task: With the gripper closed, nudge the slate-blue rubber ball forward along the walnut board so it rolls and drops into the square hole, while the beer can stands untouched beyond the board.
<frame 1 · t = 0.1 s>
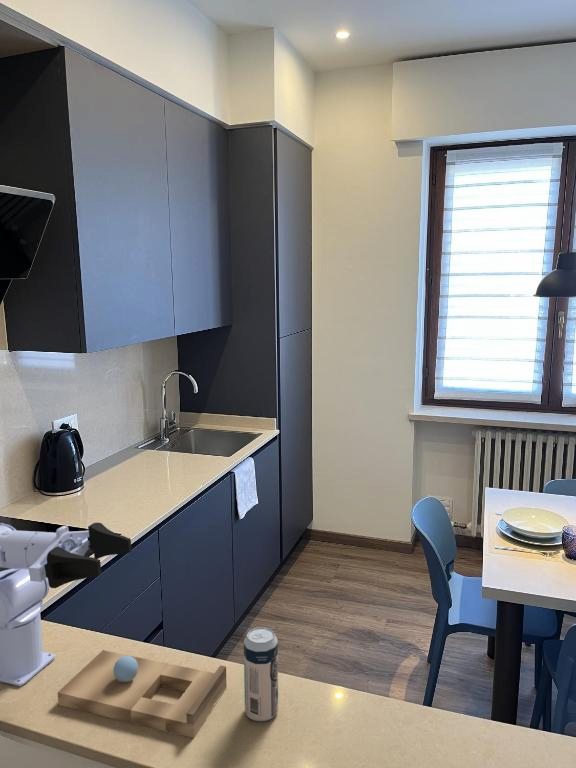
hand: (115, 556, 86), 22 cm above the counter, tool horizontal, fingers open, 7 cm apart
beer can: (261, 713, 84), on the counter
board: (144, 696, 88), on the counter
ball: (125, 668, 88), point 4 cm above the counter, touching board
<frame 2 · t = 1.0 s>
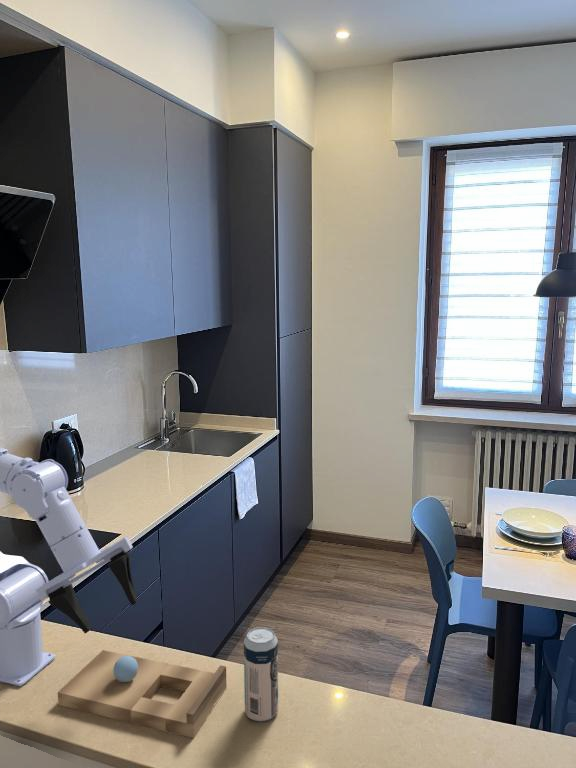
hand: (111, 616, 88), 12 cm above the counter, tool tilted 30°, fingers open, 7 cm apart
nothing on the counter moved.
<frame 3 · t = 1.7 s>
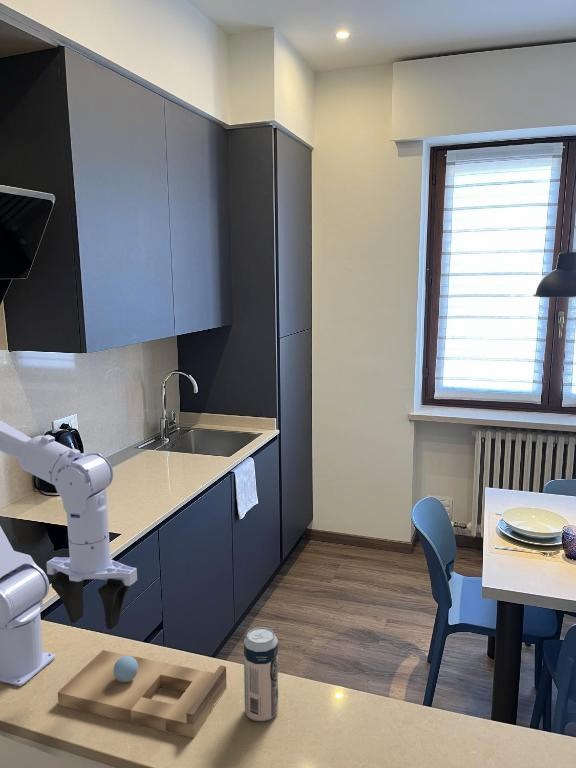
hand: (94, 622, 89), 10 cm above the counter, tool pointing down, fingers open, 6 cm apart
nothing on the counter moved.
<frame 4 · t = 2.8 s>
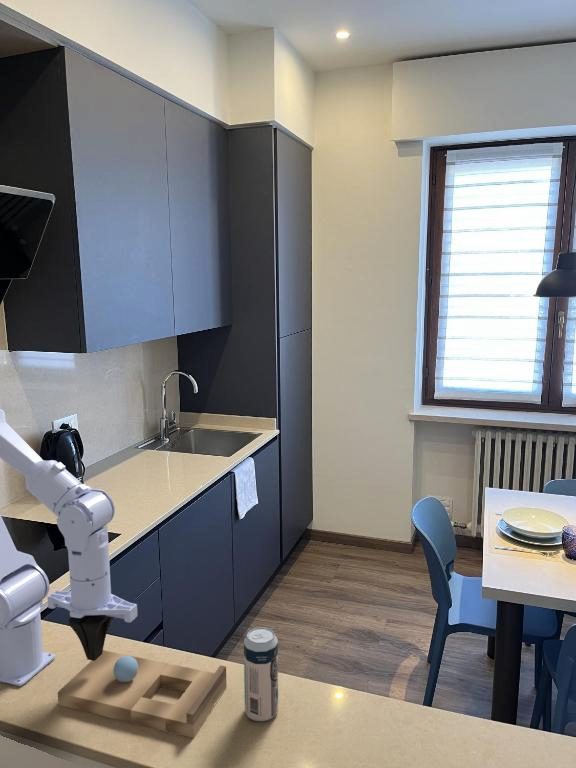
hand: (94, 656, 90), 5 cm above the counter, tool pointing down, fingers closed
nothing on the counter moved.
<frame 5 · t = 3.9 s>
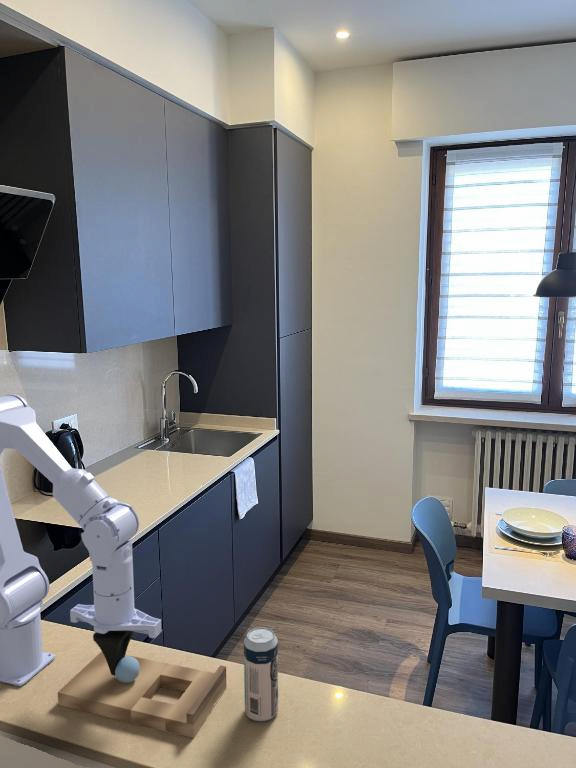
hand: (117, 671, 89), 3 cm above the counter, tool pointing down, fingers closed, pressing on ball
ball: (127, 669, 88), point 4 cm above the counter, tilted 9°, touching board, gripper
everything else where it was.
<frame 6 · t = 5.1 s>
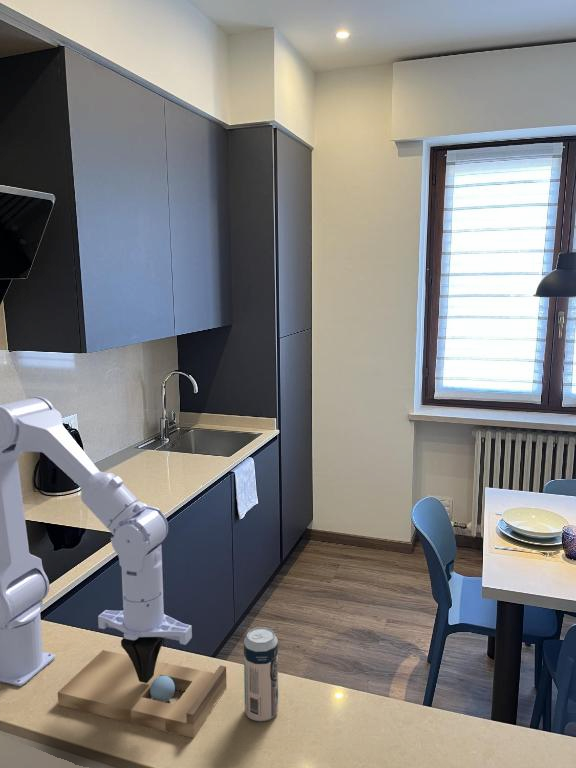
hand: (146, 678, 87), 3 cm above the counter, tool pointing down, fingers closed
ball: (162, 689, 86), point 2 cm above the counter, tilted 158°
everything else where it was.
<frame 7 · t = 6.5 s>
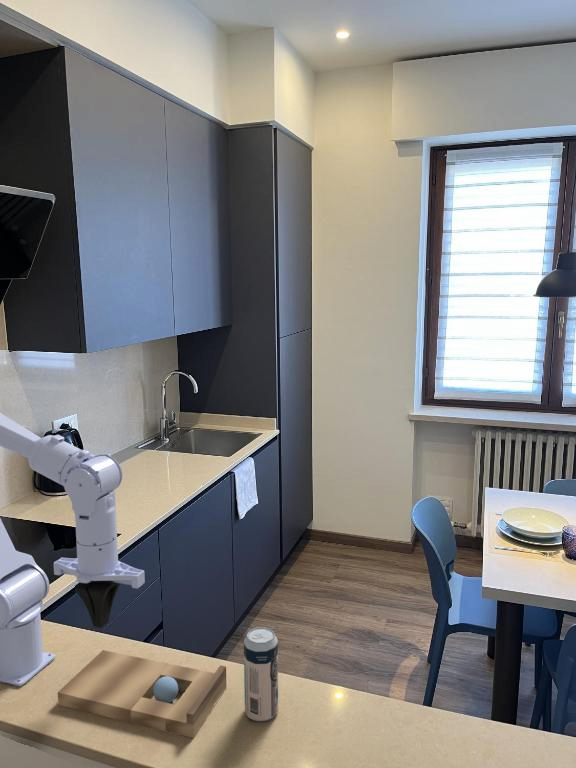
hand: (101, 624, 88), 10 cm above the counter, tool pointing down, fingers closed
ball: (165, 689, 86), point 2 cm above the counter, tilted 141°
everything else where it was.
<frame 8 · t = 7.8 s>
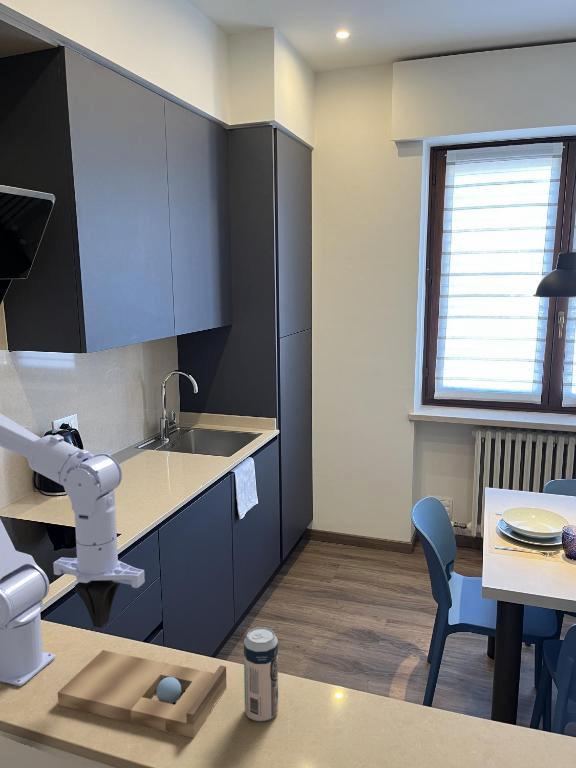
hand: (101, 623, 88), 10 cm above the counter, tool pointing down, fingers closed
ball: (168, 690, 86), point 2 cm above the counter, tilted 124°
everything else where it was.
at the end: ball 0.2 cm from the target spot in the board, point 1.8 cm above the board's base; ball moved 7.5 cm from its start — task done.
